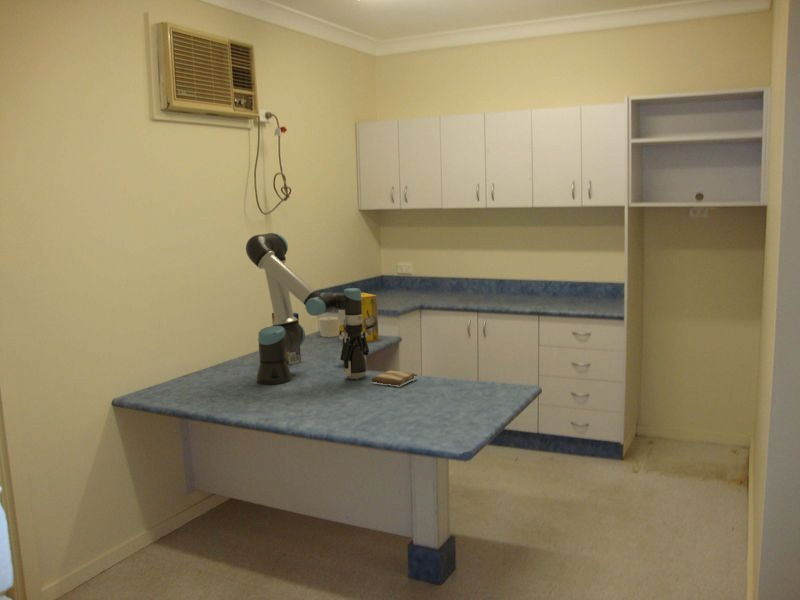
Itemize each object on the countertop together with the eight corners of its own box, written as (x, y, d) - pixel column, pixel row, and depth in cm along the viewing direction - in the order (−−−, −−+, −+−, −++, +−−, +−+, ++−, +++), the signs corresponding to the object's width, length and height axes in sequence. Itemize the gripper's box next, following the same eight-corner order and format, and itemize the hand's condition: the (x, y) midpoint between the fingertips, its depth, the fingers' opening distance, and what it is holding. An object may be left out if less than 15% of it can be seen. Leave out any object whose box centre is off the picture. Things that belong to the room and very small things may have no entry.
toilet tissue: (333, 333, 429) (333, 316, 427) (343, 336, 419) (342, 318, 417) (317, 335, 423) (316, 318, 422) (326, 338, 413) (325, 321, 412)
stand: (399, 387, 305) (399, 380, 305) (372, 383, 313) (371, 377, 312) (416, 379, 317) (416, 373, 317) (389, 376, 324) (389, 369, 324)
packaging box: (378, 340, 404) (377, 295, 400) (352, 344, 396) (350, 298, 392) (365, 335, 418) (363, 292, 414) (339, 339, 410) (337, 295, 406)
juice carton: (300, 361, 358) (298, 313, 354) (288, 364, 353) (285, 315, 349) (286, 358, 367) (284, 311, 363) (274, 360, 362) (271, 313, 358)
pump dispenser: (364, 381, 317) (363, 347, 315) (341, 380, 319) (340, 346, 317) (370, 375, 327) (368, 342, 325) (347, 374, 329) (346, 342, 327)
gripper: (344, 328, 308) (347, 379, 311) (375, 319, 327) (377, 367, 331) (330, 327, 312) (332, 377, 315) (362, 318, 331) (364, 365, 335)
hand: (355, 372), depth 323 cm, fingers open, 11 cm apart
